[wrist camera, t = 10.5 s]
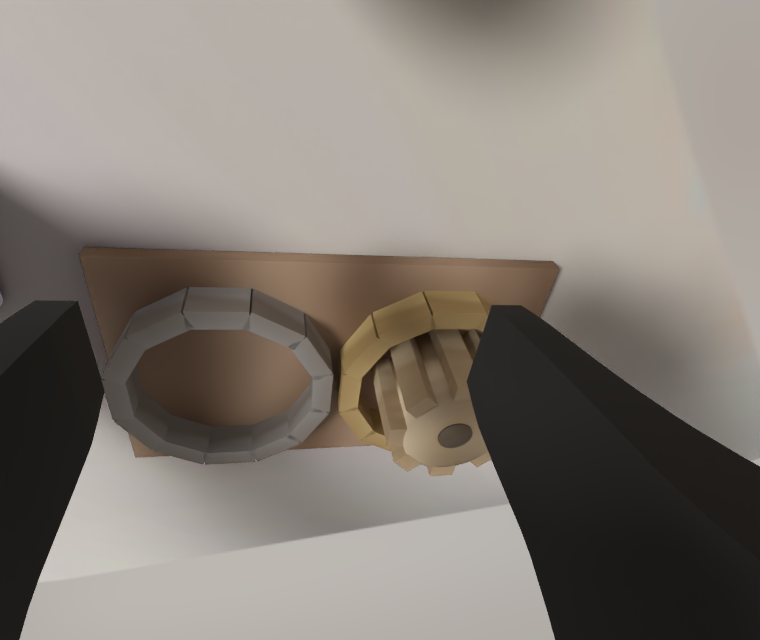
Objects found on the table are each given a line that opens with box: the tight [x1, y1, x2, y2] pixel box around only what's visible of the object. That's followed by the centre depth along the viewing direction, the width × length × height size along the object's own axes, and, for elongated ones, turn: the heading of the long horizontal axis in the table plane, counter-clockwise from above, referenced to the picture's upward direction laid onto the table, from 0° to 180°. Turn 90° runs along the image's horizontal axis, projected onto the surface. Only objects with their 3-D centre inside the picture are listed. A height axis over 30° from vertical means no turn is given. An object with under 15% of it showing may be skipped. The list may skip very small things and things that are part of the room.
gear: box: [372, 329, 491, 476], centre depth 21 cm, size 5×5×4 cm
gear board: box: [79, 247, 559, 464], centre depth 21 cm, size 18×11×2 cm, turn 83°
